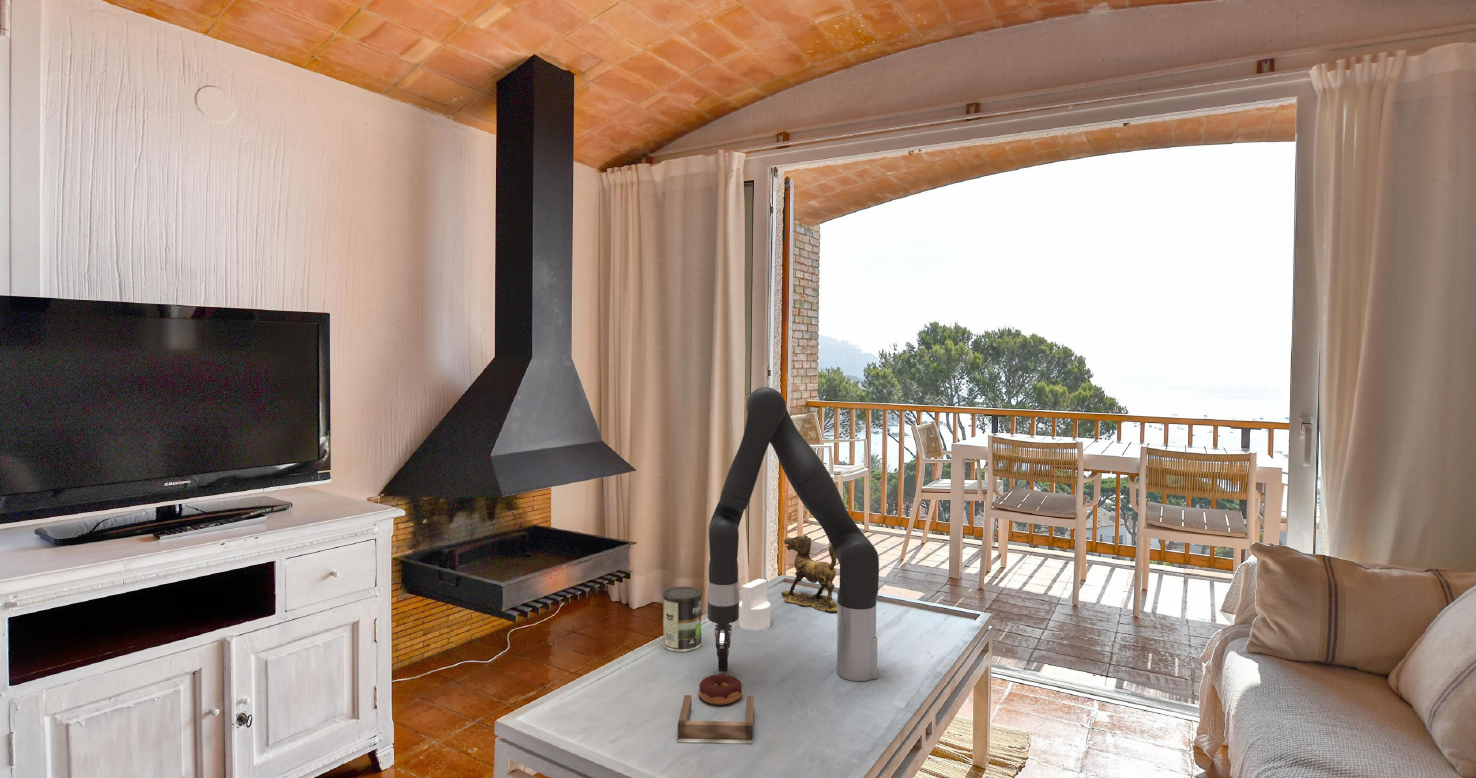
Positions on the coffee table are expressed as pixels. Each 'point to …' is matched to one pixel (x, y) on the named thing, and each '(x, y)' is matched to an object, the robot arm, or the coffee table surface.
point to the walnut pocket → (715, 727)
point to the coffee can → (682, 619)
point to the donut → (720, 689)
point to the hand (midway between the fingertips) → (723, 670)
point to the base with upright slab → (754, 606)
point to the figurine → (811, 576)
